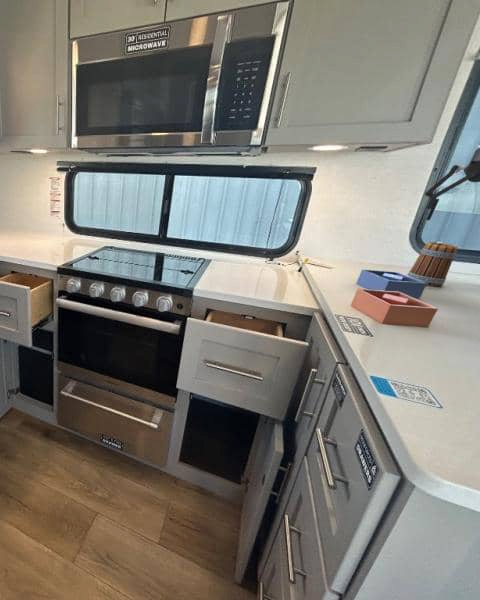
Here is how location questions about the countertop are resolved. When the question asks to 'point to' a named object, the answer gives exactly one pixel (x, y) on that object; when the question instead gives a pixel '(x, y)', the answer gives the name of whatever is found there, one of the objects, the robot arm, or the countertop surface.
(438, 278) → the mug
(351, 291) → the countertop surface
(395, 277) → the blue block
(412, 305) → the terracotta bin
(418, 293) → the blue bin
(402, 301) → the red block
